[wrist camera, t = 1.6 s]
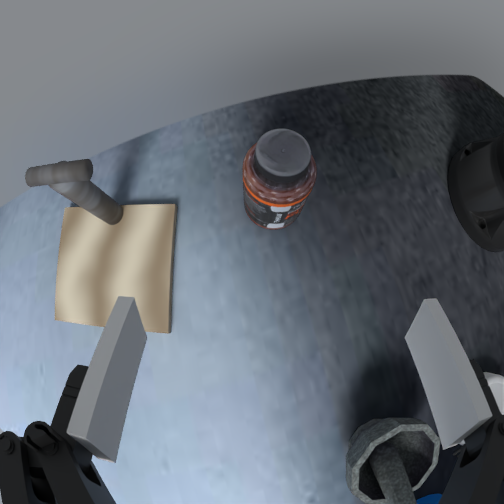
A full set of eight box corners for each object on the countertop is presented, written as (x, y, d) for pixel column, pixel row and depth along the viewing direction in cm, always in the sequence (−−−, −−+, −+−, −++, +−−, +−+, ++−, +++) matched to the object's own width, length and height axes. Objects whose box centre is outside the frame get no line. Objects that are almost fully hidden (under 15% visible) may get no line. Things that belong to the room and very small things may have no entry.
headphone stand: (177, 205, 32) (135, 145, 19) (170, 332, 29) (116, 349, 16) (69, 208, 32) (0, 166, 19) (59, 319, 29) (-21, 320, 16)
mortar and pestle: (332, 413, 28) (372, 464, 16) (410, 393, 28) (474, 424, 16) (334, 492, 26) (363, 553, 14) (406, 471, 26) (454, 517, 14)
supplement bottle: (288, 240, 31) (308, 204, 20) (234, 218, 31) (225, 171, 20) (309, 190, 32) (334, 135, 21) (257, 169, 32) (259, 107, 21)
